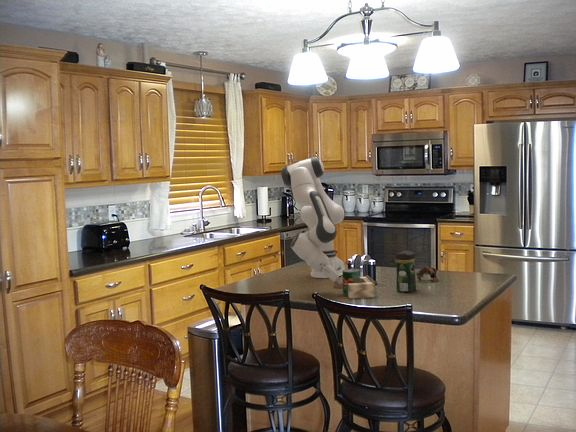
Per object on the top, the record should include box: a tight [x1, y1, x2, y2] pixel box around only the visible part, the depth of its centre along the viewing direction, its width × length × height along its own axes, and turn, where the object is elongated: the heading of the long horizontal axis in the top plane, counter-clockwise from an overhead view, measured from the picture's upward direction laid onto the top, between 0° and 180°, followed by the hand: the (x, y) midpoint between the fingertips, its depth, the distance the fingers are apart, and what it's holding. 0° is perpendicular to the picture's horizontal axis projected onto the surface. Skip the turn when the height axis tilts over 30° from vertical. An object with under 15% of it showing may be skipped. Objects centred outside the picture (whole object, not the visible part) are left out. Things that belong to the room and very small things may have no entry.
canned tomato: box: [342, 268, 361, 296], centre depth 283 cm, size 8×8×11 cm
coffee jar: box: [394, 250, 417, 293], centre depth 285 cm, size 10×8×19 cm
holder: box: [347, 274, 376, 299], centre depth 283 cm, size 12×19×7 cm, turn 3°
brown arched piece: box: [415, 266, 439, 283], centre depth 308 cm, size 12×10×8 cm
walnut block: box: [333, 277, 343, 289], centre depth 301 cm, size 5×5×4 cm
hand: (341, 282), depth 283 cm, fingers closed, pressing on canned tomato
